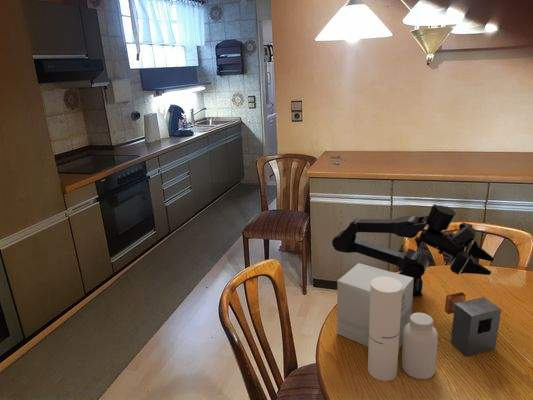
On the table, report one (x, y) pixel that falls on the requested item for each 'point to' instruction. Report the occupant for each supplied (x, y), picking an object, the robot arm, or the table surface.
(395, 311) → the cylindrical container
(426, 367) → the pill bottle
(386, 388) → the table surface
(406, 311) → the supplement box
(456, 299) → the pin
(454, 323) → the block
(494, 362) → the table surface
